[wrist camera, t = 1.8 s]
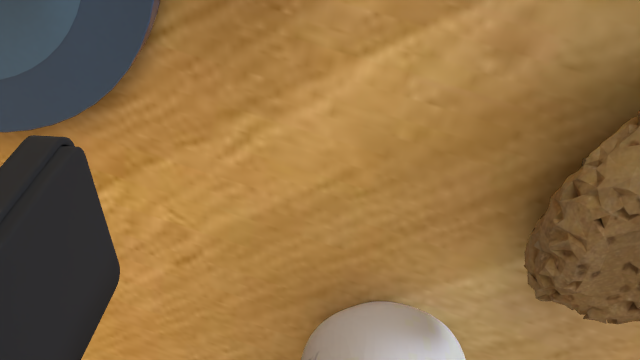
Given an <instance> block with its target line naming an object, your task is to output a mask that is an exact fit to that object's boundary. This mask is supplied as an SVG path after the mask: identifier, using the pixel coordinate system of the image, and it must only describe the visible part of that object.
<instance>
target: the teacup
mask: <svg viewBox="0 0 640 360" xmlns="http://www.w3.org/2000/svg"><path fill="white" fill-rule="evenodd" d="M301 360H466V359H465V356H464V353H463V351H462V349H461V346H460V344H459V342H458V341H457V339H456V337H455V336H454V335H453V333H452V332H451V331H450V330H449V329H448V328H447V327H446V326H445V325H444V324H443V323H442V322H441V321H439V320H438V319H437V318H435V317H433V316H432V315H430V314H428V313H426V312H424V311H422V310H420V309H417V308H414V307H411V306H407V305H404V304H399V303H394V302H384V301H378V302H368V303H363V304H359V305H356V306H352V307H349V308H346V309H344V310H341V311H339V312H337V313H335V314H333V315H332V316H330V317H329V318H327V319H326V320H324V321H323V322H322V323H321V324H320V325H319V326H318V327H317V328H316V329H315V330H314V332H313V333H312V334H311V336H310V338H309V339H308V341H307V343H306V346H305V348H304V351H303V354H302V357H301Z"/></svg>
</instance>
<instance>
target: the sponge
mask: <svg viewBox="0 0 640 360" xmlns="http://www.w3.org/2000/svg"><path fill="white" fill-rule="evenodd" d="M524 266H525V267H526V269H527V273H528V284H529V285H530V286H531V287H532V288H533V289H534V291H535V296H536V298H537V299H538V300H540V301H552V302H556V303H559V304H562V305H565V306H567V307H568V308H570V309H571V310H574V309H575V310H576V311H577V312H578V313H579V314H580V315H581V314H586V315H585V316H584V318H583V319H589V320H596V321H599V322H603V323H606V320H607V321H608V323H613V324H622V323H627V322H632V321H640V110H639V111H638V116H637V117H633V118H632V119H630V120H629V121H627V122H626V123H624V124H623V125H622V126H621V128H620V129H619V130H618V131H617V132H616V133H615V134H613V135H612V136H610V137H609V138H608V139H606V140H605V141H603V142H602V143H601V144H600V146H599V147H598V148H597V149H596V150H594V151H592V152H591V153H590V155H589V157H588V158H584V159H583V161H582V167H581V168H580V169H579V170H578V171H577V172H576V173H574V174H571V175H570V176H569V177H568V178H567V179H566V180H565V181H564V183H563V184H562V186H561V187H560V189H559V190H558V191H557V192H556V193H554V194H553V195H552V196H551V197H550V203H549V207H548V209H547V211H546V212H545V214H544V215H543V216H542V217H541V218H540V219H539V220H538V221H537V223H536V227H535V228H534V230H533V231H532V233H531V234H530V237H529V240H528V242H527V245H526V250H525V265H524Z"/></svg>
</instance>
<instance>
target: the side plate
mask: <svg viewBox="0 0 640 360" xmlns="http://www.w3.org/2000/svg"><path fill="white" fill-rule="evenodd" d="M159 2H160V0H0V132H15V131H26V130H33V129H37V128H41V127H45V126H50V125H54V124H56V123H59V122H61V121H64V120H66V119H69V118H72V117H74V116H76V115H78V114H80V113H81V112H83V111H85V110H86V109H88V108H90V107H91V106H93V105H95V104H96V103H97V102H98V101H99V100H101V99H102V98H103V97H104V96H105V95H106V94H108V93H109V92H110V91H111V90H112V89H113V88H114V87H115V86H116V85H117V83H118V82H119V81H120V80H121V78H122V77H123V76H124V75H125V74H126V72H127V71H128V70H129V68H130V67H131V66H132V65H133V63H134V62H135V61H136V59H137V57H138V55H139V54H140V52H141V50H142V48H143V46H144V45H145V43H146V41H147V39H148V37H149V34H150V32H151V29H152V26H153V24H154V21H155V18H156V15H157V12H158V7H159Z"/></svg>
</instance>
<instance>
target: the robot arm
mask: <svg viewBox="0 0 640 360" xmlns="http://www.w3.org/2000/svg"><path fill="white" fill-rule="evenodd" d="M119 275H120V267H119V262H118V259H117V256H116V253H115V249H114V246H113V243H112V240H111V236H110V233H109V230H108V227H107V224H106V220H105V217H104V214H103V211H102V207H101V204H100V201H99V198H98V195H97V191H96V188H95V185H94V182H93V179H92V175H91V172H90V169H89V166H88V162H87V159H86V156H85V154H84V151H83V150H82V149H81V148H79V147H75V146H74V144H73V142H72V141H71V140H70V139H69V138H66V137H53V136H35V135H33V136H28V137H27V138H26V139H25V140H24V141H23V142H22V143H21V144H20V145H19V146H18V148H17V149H16V150H15V151H14V152H13V153H12V154H11V156H10V157H9V158H8V159H7V160H6V161H5V163H4V164H3V165H2V166H1V167H0V360H81V358H82V356H83V354H84V352H85V350H86V348H87V346H88V344H89V342H90V340H91V338H92V336H93V334H94V332H95V330H96V328H97V326H98V324H99V322H100V320H101V318H102V316H103V314H104V312H105V310H106V308H107V305H108V303H109V301H110V299H111V297H112V295H113V293H114V291H115V289H116V287H117V284H118V281H119Z"/></svg>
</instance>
